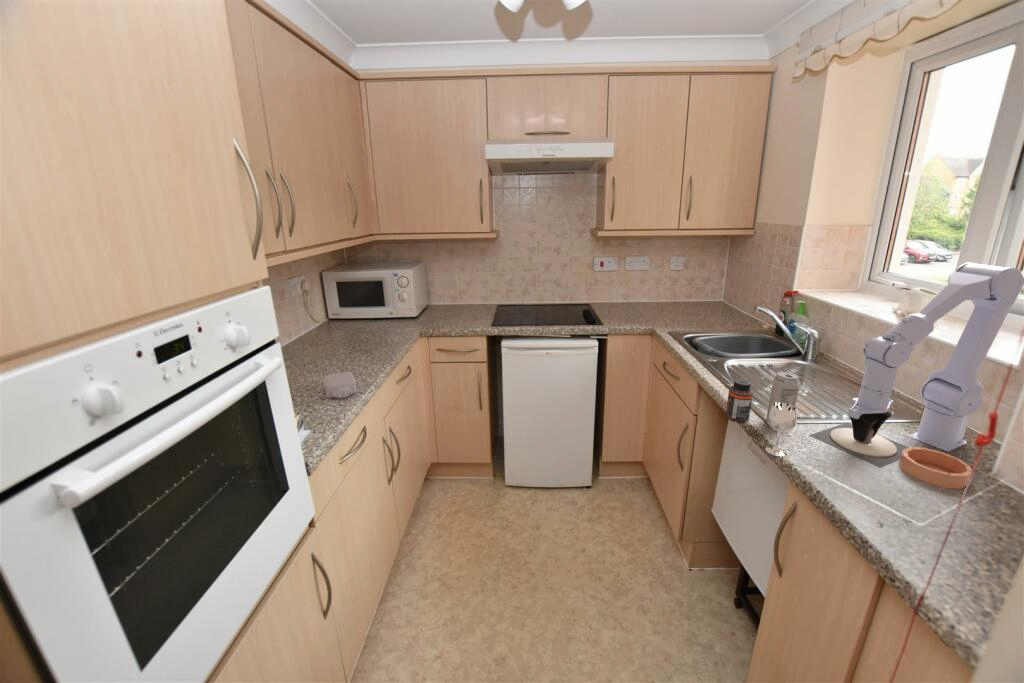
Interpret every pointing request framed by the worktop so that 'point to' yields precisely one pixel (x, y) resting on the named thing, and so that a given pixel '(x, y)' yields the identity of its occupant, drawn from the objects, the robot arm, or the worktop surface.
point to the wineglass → (781, 423)
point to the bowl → (935, 467)
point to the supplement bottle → (739, 401)
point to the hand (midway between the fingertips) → (863, 438)
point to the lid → (863, 443)
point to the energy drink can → (784, 390)
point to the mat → (876, 461)
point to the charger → (339, 384)
